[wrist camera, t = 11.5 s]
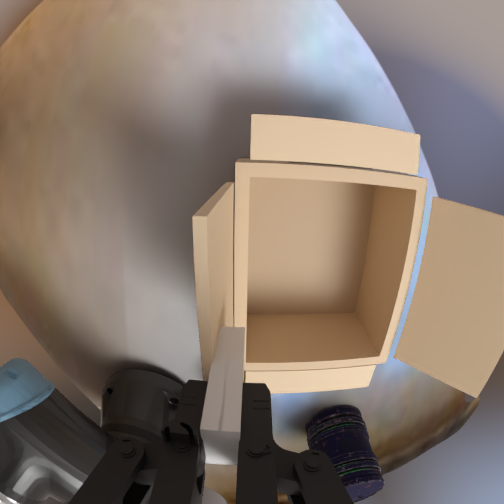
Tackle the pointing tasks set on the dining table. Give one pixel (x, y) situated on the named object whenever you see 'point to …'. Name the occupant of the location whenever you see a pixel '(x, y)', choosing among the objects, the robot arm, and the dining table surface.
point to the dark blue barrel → (346, 449)
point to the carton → (323, 249)
